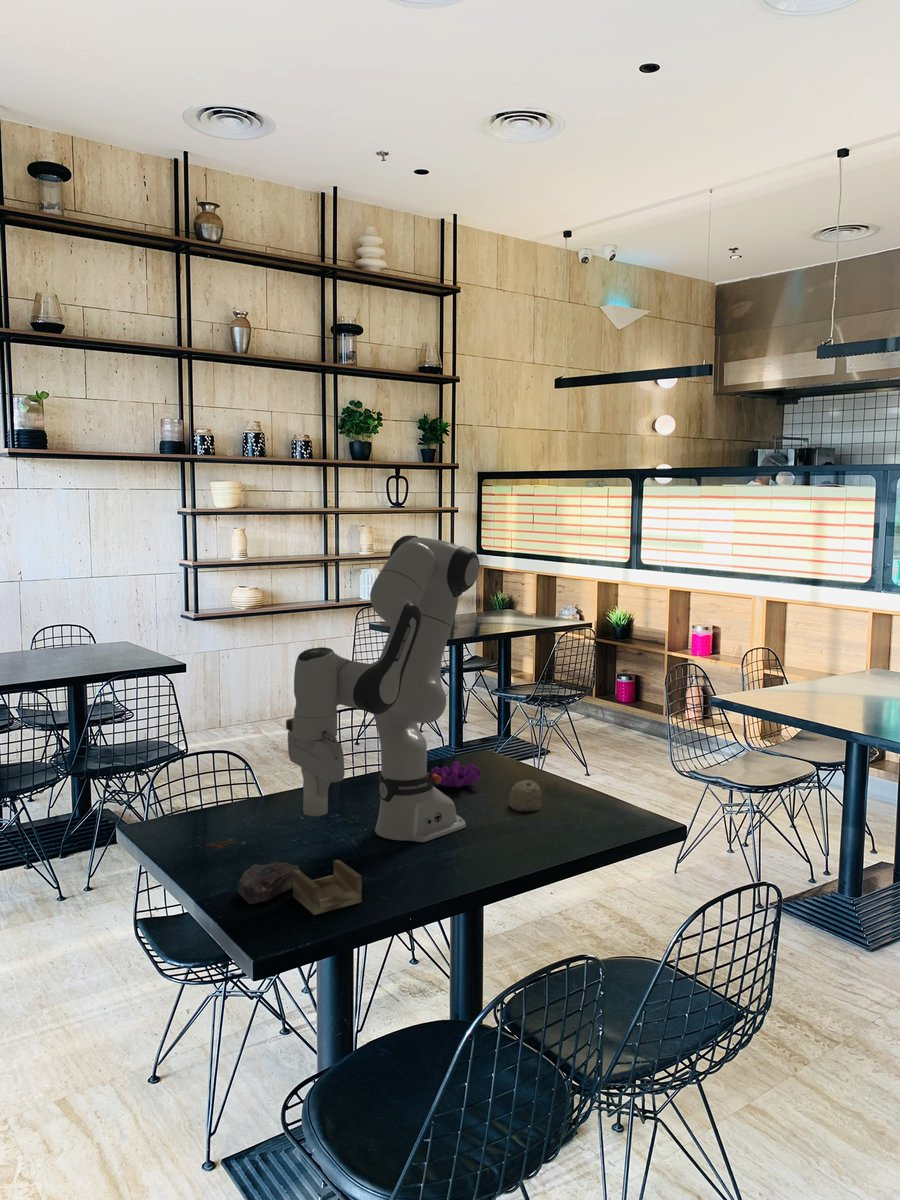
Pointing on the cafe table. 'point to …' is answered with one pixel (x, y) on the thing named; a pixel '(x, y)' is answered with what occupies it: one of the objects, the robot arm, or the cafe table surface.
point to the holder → (328, 889)
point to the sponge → (525, 796)
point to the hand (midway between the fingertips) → (315, 792)
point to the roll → (313, 796)
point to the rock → (266, 881)
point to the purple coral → (457, 775)
